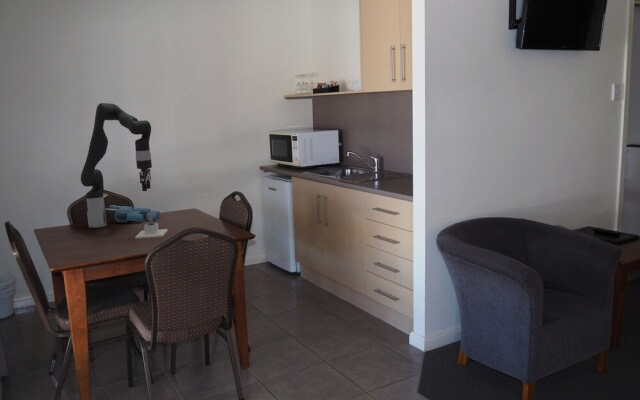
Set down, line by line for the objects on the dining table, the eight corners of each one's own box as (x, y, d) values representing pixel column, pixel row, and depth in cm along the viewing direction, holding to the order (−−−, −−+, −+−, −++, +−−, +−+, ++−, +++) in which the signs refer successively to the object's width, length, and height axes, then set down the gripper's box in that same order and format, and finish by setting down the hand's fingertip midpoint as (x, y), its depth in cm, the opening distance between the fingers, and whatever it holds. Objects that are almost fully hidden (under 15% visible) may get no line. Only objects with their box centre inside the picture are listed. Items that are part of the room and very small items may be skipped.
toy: (154, 211, 333) (101, 208, 330) (153, 226, 334) (101, 223, 332) (161, 205, 355) (113, 201, 352) (161, 219, 356) (112, 216, 354)
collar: (144, 234, 297) (143, 226, 297) (147, 231, 303) (146, 223, 303) (156, 233, 298) (155, 225, 297) (158, 231, 304) (157, 222, 303)
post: (135, 238, 293) (133, 217, 291) (141, 232, 307) (139, 212, 305) (162, 236, 294) (160, 215, 292) (167, 230, 308) (165, 211, 306)
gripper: (139, 158, 302) (142, 188, 304) (132, 160, 288) (136, 192, 290) (153, 157, 302) (156, 187, 305) (147, 160, 288) (150, 191, 291)
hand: (146, 189), depth 298 cm, fingers open, 8 cm apart
